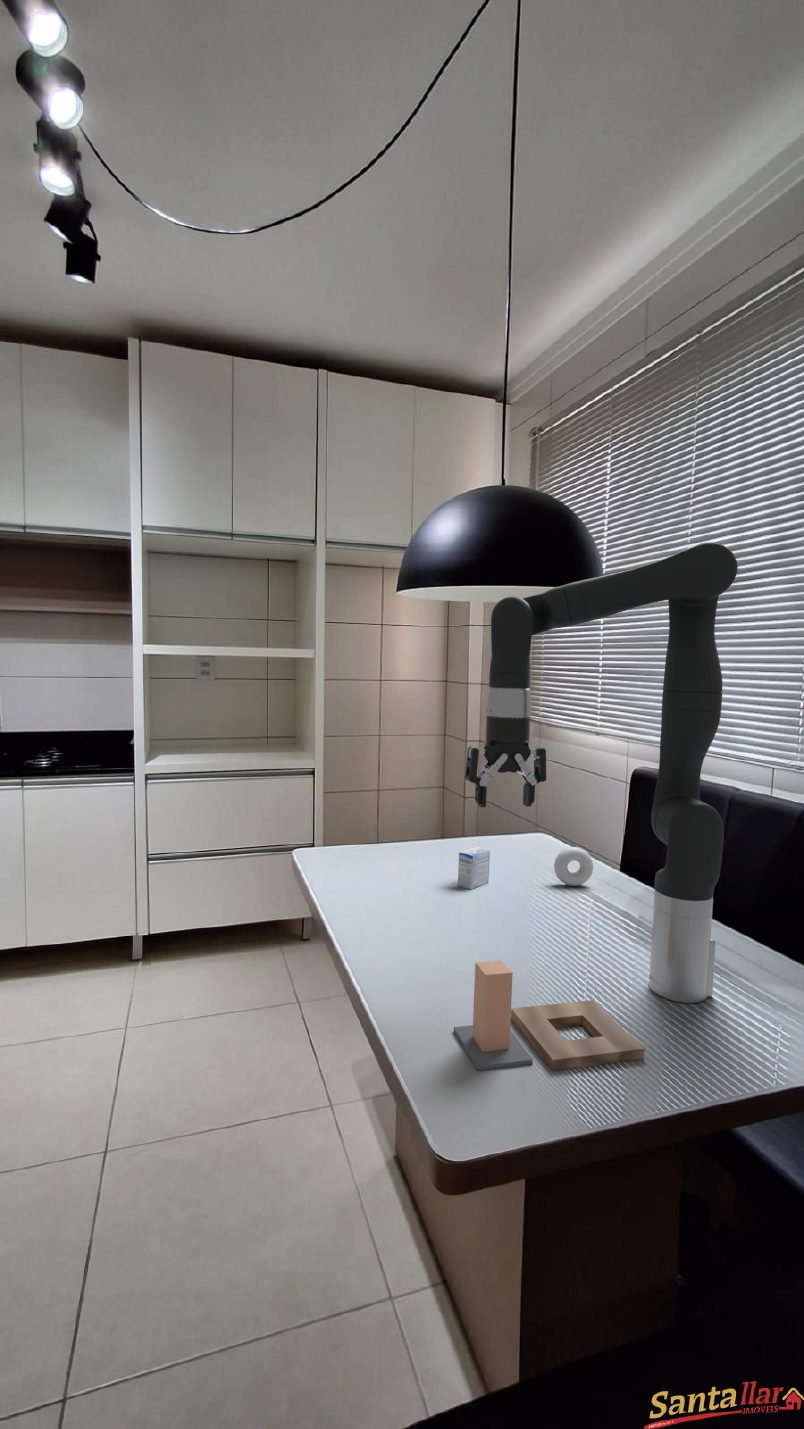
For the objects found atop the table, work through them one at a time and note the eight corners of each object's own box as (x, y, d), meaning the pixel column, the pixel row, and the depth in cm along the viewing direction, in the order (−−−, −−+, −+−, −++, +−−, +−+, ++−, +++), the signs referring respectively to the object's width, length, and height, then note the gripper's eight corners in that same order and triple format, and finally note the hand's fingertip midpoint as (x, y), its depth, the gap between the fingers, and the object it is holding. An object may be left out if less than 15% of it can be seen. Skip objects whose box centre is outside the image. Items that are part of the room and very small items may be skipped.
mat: (503, 1025, 101) (504, 1021, 101) (532, 1063, 92) (532, 1059, 91) (453, 1031, 99) (453, 1027, 99) (477, 1070, 90) (477, 1066, 90)
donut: (590, 884, 172) (591, 845, 171) (594, 888, 168) (596, 849, 168) (551, 883, 172) (553, 844, 171) (555, 887, 168) (556, 848, 167)
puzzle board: (592, 1009, 107) (592, 1000, 107) (643, 1058, 93) (644, 1048, 93) (510, 1017, 104) (511, 1008, 103) (552, 1070, 90) (553, 1059, 90)
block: (498, 1033, 98) (501, 960, 97) (509, 1048, 94) (512, 972, 93) (472, 1036, 97) (475, 962, 96) (482, 1051, 93) (485, 974, 92)
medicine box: (474, 879, 173) (475, 846, 173) (489, 882, 170) (490, 849, 170) (457, 886, 167) (458, 852, 167) (472, 890, 164) (473, 855, 164)
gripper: (477, 715, 111) (473, 811, 112) (555, 716, 114) (551, 809, 115) (462, 712, 118) (459, 802, 119) (536, 713, 122) (532, 801, 123)
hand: (504, 806), depth 117 cm, fingers open, 8 cm apart
